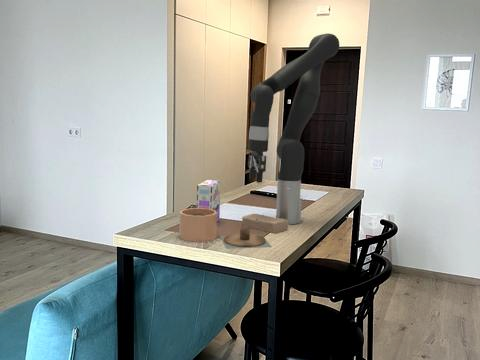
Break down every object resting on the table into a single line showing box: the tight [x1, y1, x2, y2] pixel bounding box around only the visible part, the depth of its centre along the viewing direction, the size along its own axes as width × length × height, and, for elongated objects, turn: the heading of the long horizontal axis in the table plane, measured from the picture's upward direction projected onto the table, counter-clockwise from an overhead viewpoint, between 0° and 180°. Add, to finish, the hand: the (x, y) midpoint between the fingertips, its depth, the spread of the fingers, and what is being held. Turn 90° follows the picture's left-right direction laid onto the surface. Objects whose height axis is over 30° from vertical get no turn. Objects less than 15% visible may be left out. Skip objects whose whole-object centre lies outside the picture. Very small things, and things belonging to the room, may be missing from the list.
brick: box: [241, 213, 289, 234], centre depth 175 cm, size 17×8×5 cm, turn 49°
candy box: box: [196, 179, 221, 223], centre depth 179 cm, size 14×6×16 cm, turn 168°
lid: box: [224, 225, 267, 247], centre depth 157 cm, size 14×14×5 cm
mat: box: [219, 233, 273, 250], centre depth 157 cm, size 15×15×1 cm
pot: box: [179, 207, 218, 243], centre depth 161 cm, size 13×13×9 cm
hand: (255, 180), depth 179 cm, fingers open, 8 cm apart
